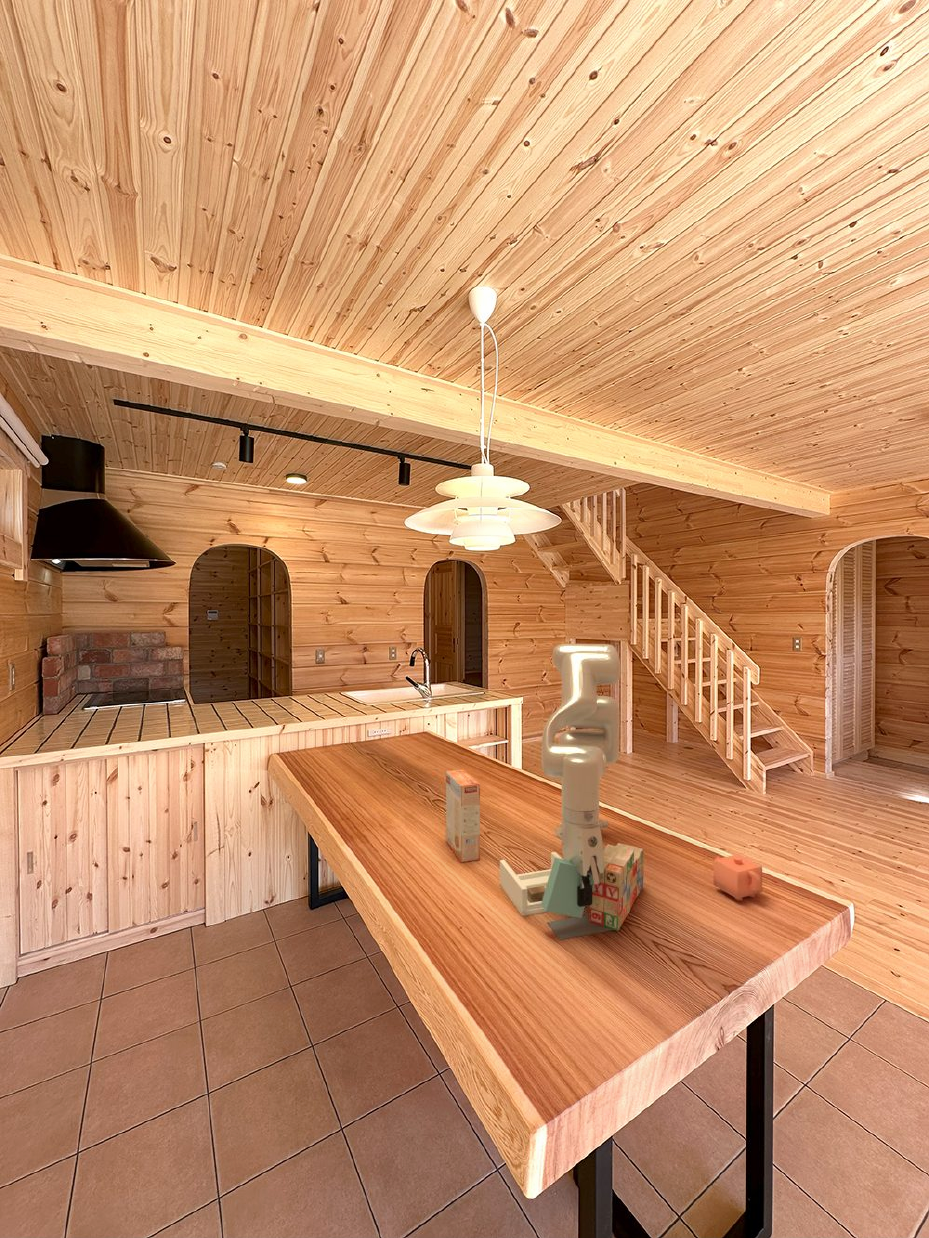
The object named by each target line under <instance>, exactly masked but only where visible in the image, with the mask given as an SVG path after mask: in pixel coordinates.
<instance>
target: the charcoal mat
mask: <svg viewBox="0 0 929 1238" xmlns="http://www.w3.org/2000/svg"><path fill="white" fill-rule="evenodd" d="M589 918H590V913H587V914H583V915H582V918H577V917H572V916H570V917H567V918H561V919H557V920H552V921H548V922H546V924H547V925H548V926H549V928H550V929H551V930H552V932H553V934H555V936H556V937H557V938H558V940H560V941H562V940H564V941H565V940H569V939H574V938H579V937H583V936H584V937H585V936H589V935H594V934H600V933H605V932H610V931H615V930H614V929H611V928H608V927H605V926H602V925H599V924H596V923H593V922H590V920H589Z"/></svg>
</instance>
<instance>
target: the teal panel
mask: <svg viewBox="0 0 929 1238" xmlns="http://www.w3.org/2000/svg"><path fill="white" fill-rule="evenodd" d="M550 869H551V868H550ZM586 878H588V876H586V877H584V880H585V879H586ZM578 886H579V873H578V872H577V871H576V870H575V866H574V865H573V864H572V863H571V862H570V861H569V860H565V859H564V858H562V859H560V858H556V857H555V859H554V862H553V866H552V869H551V872H550V876H549V879H548V883H547V886H546V889H545V893H544V896H543V900H542V903H541V906H542V907H543V908H544V909H545V911H547V912H548V913H554V914H558V915H563V916H568V917H577V918H582V915H584V912H585V911H584V910H585V908H586V906H583V907H579V906H578V904H577V887H578ZM547 912H546V913H547Z"/></svg>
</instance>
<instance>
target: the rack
mask: <svg viewBox="0 0 929 1238" xmlns="http://www.w3.org/2000/svg"><path fill="white" fill-rule="evenodd" d="M555 857H556V858H560V859H563V857H561V855H559V854H558V853H557V852H556V851H552V852H550V868H549V869H544V870H538V871H532V872H526V873H525V872H524V873H519V874H516V872H514V870H513V869H512V868H511V866H510V865H509V864H508V863H507V861H506V859H500V860H499V885H500V887H501V888H502V890H503V891H504V892H505V893H506V895H507V896H508V898H509V900H511V902H512V903H513V906H514V907H515V908H516V909H517V911H518V912H519V913H520V915H521V916H522V917H525V916H529V915H536V914H537V915H538V914H542V913H547V911H545V909H544V908H543V907H542V906H541V903H542V901H538V902H533V903H530V902H529V901H528V900H527V888H532V887H538V886H544V887H545V888H546V883H548V879H549V876H550V872H551V869H552V866H553V862H554V859H555Z"/></svg>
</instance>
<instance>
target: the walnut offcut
mask: <svg viewBox="0 0 929 1238" xmlns="http://www.w3.org/2000/svg"><path fill="white" fill-rule="evenodd" d="M545 889H546V888H545V887H544V886H538V887H532V888H527V900H528V901H529V902H530V903H533V902H538V901H542V900H543V896H544V893H545Z"/></svg>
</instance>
